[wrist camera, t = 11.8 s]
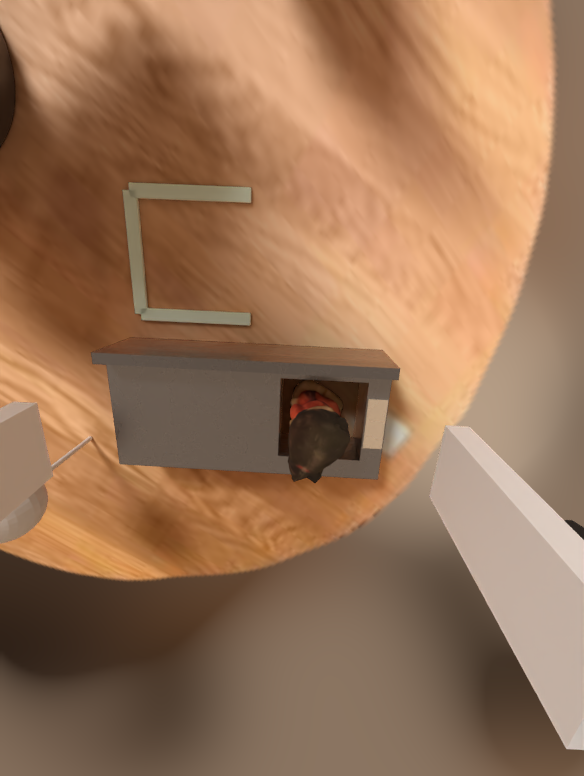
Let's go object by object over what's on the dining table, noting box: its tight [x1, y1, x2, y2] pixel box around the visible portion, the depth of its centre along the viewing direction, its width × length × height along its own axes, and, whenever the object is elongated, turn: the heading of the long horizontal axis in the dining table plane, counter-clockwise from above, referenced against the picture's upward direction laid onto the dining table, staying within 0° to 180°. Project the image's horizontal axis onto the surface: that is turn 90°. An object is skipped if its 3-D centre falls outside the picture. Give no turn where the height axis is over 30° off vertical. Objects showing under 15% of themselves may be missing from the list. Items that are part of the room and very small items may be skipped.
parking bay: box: [122, 182, 251, 325], centre depth 33 cm, size 12×12×1 cm
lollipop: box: [0, 436, 92, 543], centre depth 33 cm, size 6×6×15 cm
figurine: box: [288, 379, 350, 483], centre depth 32 cm, size 6×6×12 cm
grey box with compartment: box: [91, 337, 400, 480], centre depth 34 cm, size 26×12×7 cm, turn 88°
